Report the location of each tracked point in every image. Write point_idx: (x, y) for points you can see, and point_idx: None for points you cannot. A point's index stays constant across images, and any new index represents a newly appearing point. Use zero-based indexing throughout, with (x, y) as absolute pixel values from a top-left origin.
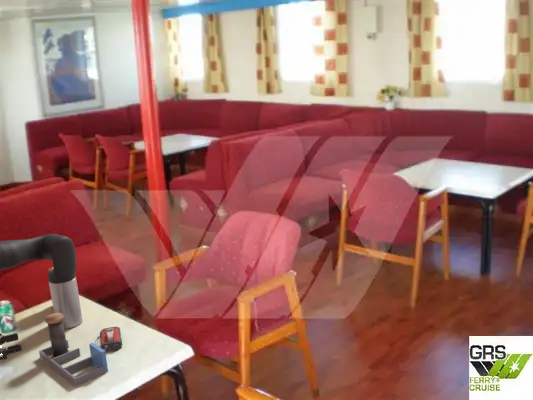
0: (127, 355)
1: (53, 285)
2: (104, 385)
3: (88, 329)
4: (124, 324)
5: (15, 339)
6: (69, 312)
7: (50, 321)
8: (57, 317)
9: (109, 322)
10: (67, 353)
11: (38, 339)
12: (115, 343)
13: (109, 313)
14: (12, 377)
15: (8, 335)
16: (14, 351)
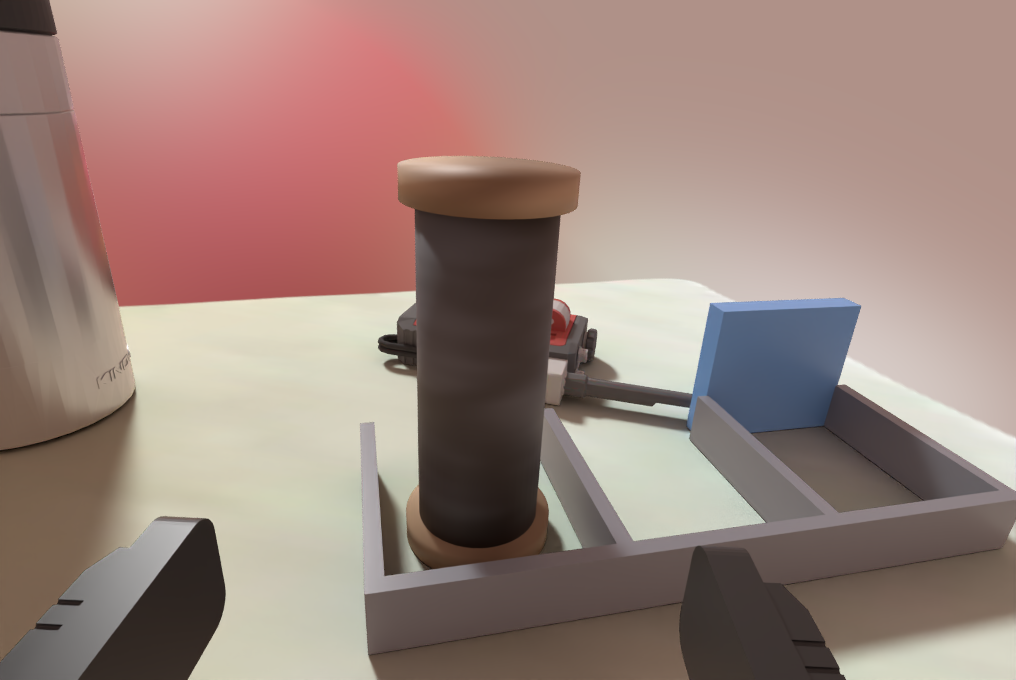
0: (668, 352)
1: None
2: (974, 451)
3: (249, 374)
4: (362, 307)
5: (199, 634)
6: (94, 300)
7: (565, 186)
8: (524, 165)
9: (280, 324)
10: (582, 457)
11: None
12: (584, 329)
13: (188, 309)
14: None
15: (85, 647)
16: None
